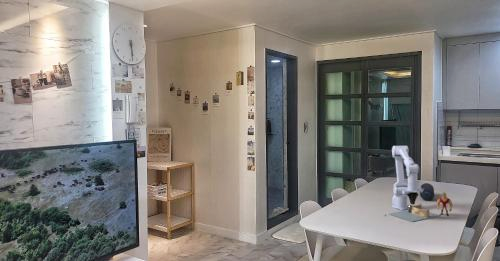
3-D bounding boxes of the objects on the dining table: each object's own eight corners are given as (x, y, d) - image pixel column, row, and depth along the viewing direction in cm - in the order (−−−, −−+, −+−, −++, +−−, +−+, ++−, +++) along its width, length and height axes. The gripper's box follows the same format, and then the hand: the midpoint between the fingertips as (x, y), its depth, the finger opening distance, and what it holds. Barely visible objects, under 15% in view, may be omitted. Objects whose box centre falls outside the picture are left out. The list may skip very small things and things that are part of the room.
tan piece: (411, 212, 240) (411, 206, 240) (412, 212, 240) (412, 205, 240) (428, 217, 228) (428, 210, 228) (429, 216, 229) (429, 210, 229)
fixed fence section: (411, 211, 243) (411, 204, 242) (420, 209, 246) (420, 203, 246) (412, 211, 241) (412, 205, 241) (421, 209, 245) (421, 203, 245)
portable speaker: (420, 193, 294) (420, 181, 293) (433, 194, 289) (433, 182, 289) (419, 201, 271) (419, 188, 271) (434, 202, 267) (434, 189, 266)
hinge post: (407, 211, 242) (407, 205, 242) (410, 211, 243) (410, 204, 243) (410, 212, 240) (410, 206, 240) (413, 212, 241) (413, 205, 241)
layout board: (388, 214, 239) (388, 213, 239) (416, 209, 250) (416, 208, 250) (412, 222, 222) (412, 221, 222) (440, 216, 233) (440, 215, 233)
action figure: (435, 214, 236) (435, 192, 236) (436, 213, 239) (437, 190, 238) (452, 216, 231) (452, 193, 230) (453, 215, 234) (453, 192, 233)
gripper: (407, 185, 225) (407, 206, 226) (426, 183, 230) (426, 204, 230) (399, 183, 232) (399, 203, 233) (418, 181, 236) (418, 201, 237)
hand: (412, 204), depth 232 cm, fingers closed
